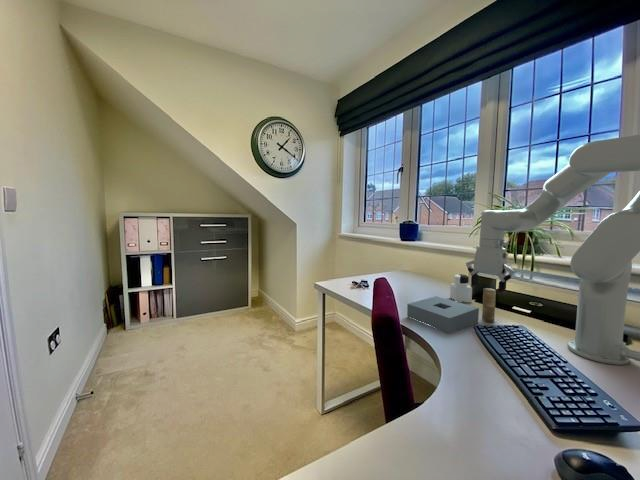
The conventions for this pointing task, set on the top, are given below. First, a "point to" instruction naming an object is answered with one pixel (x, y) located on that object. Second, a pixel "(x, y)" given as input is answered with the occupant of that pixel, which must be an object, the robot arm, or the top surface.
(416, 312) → the hole block
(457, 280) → the medicine bottle
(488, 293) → the oak pin
